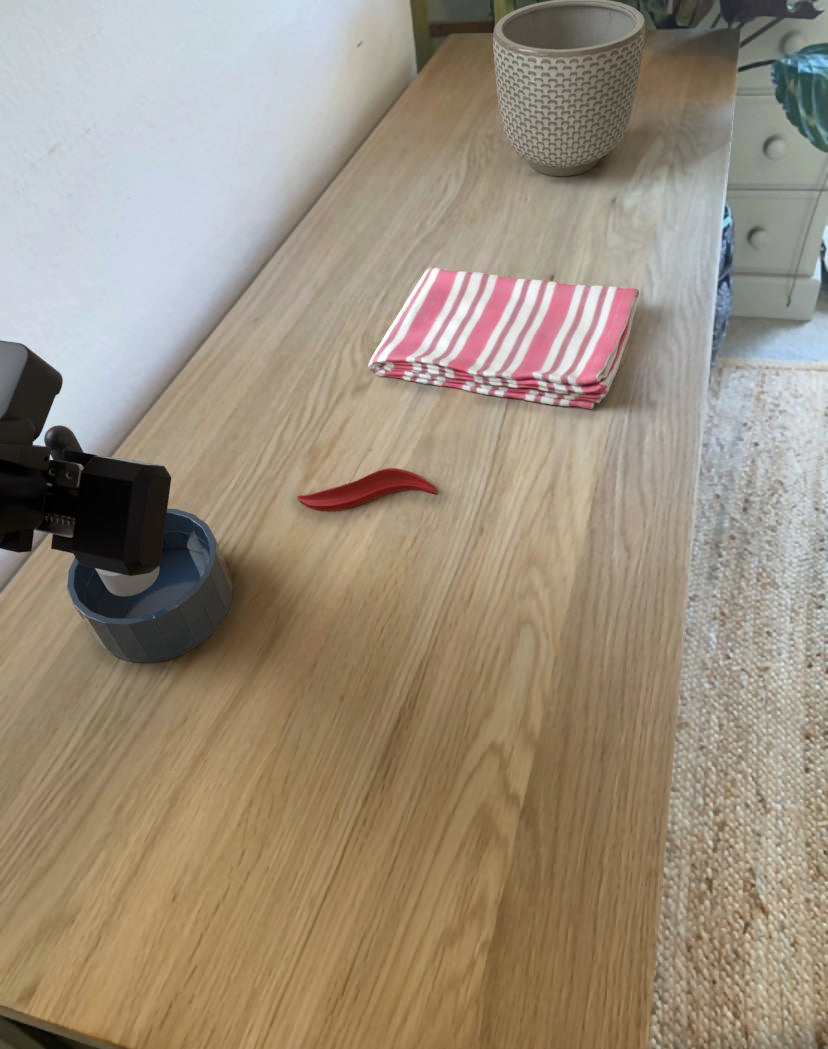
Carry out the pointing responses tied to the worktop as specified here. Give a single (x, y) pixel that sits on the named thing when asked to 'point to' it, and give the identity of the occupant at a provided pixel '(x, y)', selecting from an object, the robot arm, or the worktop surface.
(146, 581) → the joystick
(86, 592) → the bowl
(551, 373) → the dish towel
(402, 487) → the cayenne pepper
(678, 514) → the worktop surface
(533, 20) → the planter
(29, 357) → the robot arm
